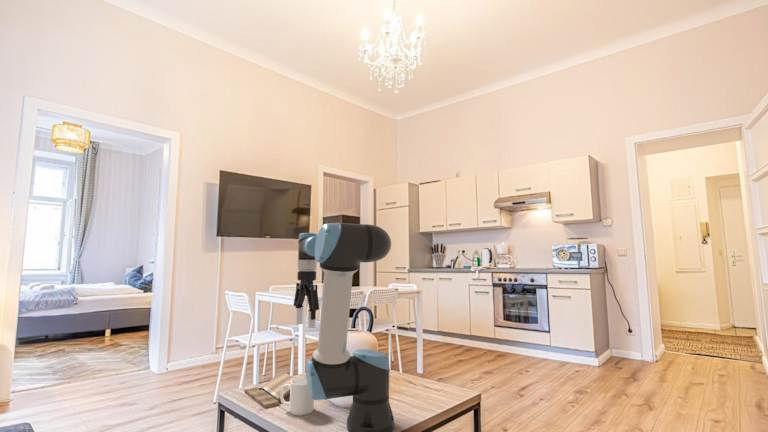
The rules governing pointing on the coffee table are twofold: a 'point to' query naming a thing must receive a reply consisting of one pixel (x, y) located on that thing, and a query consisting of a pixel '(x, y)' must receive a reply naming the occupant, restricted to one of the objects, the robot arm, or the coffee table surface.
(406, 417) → the coffee table surface
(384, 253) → the robot arm
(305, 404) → the cup
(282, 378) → the plank
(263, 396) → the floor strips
